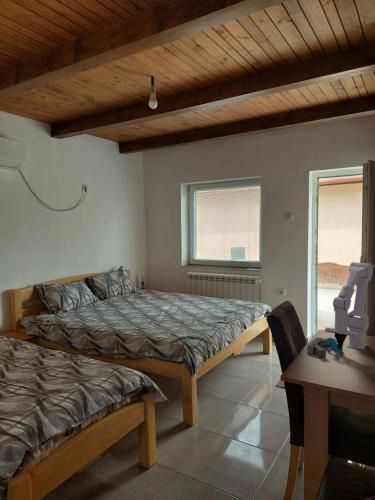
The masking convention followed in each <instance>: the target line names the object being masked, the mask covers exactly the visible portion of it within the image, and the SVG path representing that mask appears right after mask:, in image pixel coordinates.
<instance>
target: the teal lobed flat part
mask: <svg viewBox="0 0 375 500" xmlns="http://www.w3.org/2000/svg"><path fill="white" fill-rule="evenodd" d="M334 339H335V338H333V337H328V340H327V341H328V344H329V345H330V346H331V348H328V350H326V353H328V354H329V353H331V352H332V351H333V352H334V353H335V354H337V355H338V356H340V357H341V356H344V351H343V350H344V349H343V348H342V349H339V347H338V343H337V340H336V339H335V341H333V340H334Z"/></svg>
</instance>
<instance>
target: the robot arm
mask: <svg viewBox="0 0 375 500" xmlns="http://www.w3.org/2000/svg"><path fill="white" fill-rule="evenodd" d="M348 267H349V268H348V270H349V277H348V279H347V283H346V284H344V285H343V286H342V287H341V290H340V291H339V293H338V295H337V296H336V297H335V298H334V299H333V301H332V306H333V312H334V314H335V315H334V327H325V328H324V333H331V334H334V339H335V340H336V341H337V344H338V347H339V349H343V346H344V344H345V341H346V338H347V337H348V344H346V348H351V349H357V350H363V351H364V350H365V348H366V347H367V346H368V345H367V343H365V340H366V339H365V337H366V333H365V332H366V331H367V330H368V329H369V326H370V322H369V321H370V320H369V318H370V317H369V316H368V315H367V314H366V312H365V307H366V306H365V305H366V300H367V299H366V298H367V292H368V285H369V281H371V280H372V279H373V278H372V277H373V272H374V267H373V265H372V263H369V262H368V263H364V262H355V261H352V262H351V263H350V265H349V266H348ZM356 284H357V285H356ZM355 286H356V289H355V288H354V287H355ZM355 290H356V291H355ZM354 294H355V298H354V303H353V304H354V305H353V310H351V311H349V310H350V308H351V302H352V297H353V295H354Z"/></svg>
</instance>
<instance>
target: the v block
mask: <svg viewBox="0 0 375 500" xmlns="http://www.w3.org/2000/svg"><path fill="white" fill-rule="evenodd" d="M328 338H329V337H328ZM328 338H327V337H326V338H322V337H318V336H316V337H315V338H314V339H312V341H311V342H310V343H308V344H307V345H306V354H308V355H312V356H313V355H314V356H315V357H317V358H318V359H320V360H323V359H326V358H327V350H326V349H331V346H330V345H329V344H328V341H327V340H328ZM333 339H334V340H333V341H335V340H336V338H333Z"/></svg>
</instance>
